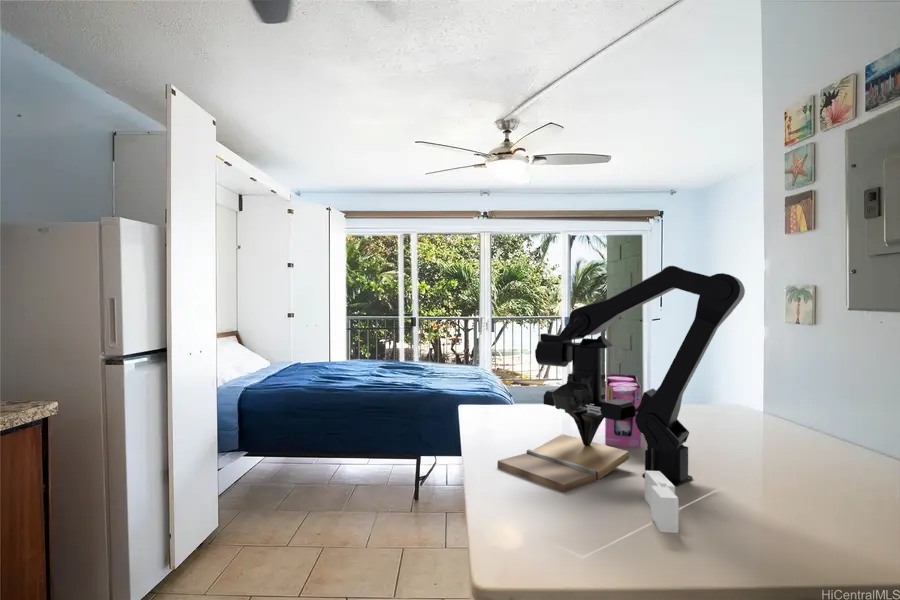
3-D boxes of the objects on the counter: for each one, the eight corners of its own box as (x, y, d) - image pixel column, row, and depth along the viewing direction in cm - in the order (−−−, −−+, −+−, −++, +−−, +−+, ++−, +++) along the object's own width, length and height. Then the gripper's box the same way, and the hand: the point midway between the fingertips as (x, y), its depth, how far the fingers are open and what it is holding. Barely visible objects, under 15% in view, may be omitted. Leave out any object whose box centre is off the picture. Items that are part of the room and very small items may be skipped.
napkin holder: (640, 495, 84) (640, 461, 84) (713, 515, 76) (713, 478, 76) (598, 523, 73) (599, 484, 73) (679, 550, 65) (679, 506, 65)
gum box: (642, 450, 108) (642, 389, 108) (604, 447, 111) (604, 386, 111) (636, 425, 131) (636, 374, 131) (605, 423, 133) (605, 373, 134)
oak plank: (629, 458, 95) (628, 451, 95) (599, 479, 89) (598, 471, 89) (562, 440, 108) (562, 433, 107) (532, 457, 101) (531, 450, 101)
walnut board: (595, 481, 88) (595, 470, 88) (563, 493, 83) (563, 480, 83) (529, 459, 101) (529, 449, 101) (497, 468, 95) (497, 457, 95)
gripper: (525, 367, 102) (525, 442, 102) (602, 379, 88) (602, 466, 88) (560, 362, 109) (560, 432, 109) (637, 373, 94) (637, 453, 95)
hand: (586, 445), depth 100 cm, fingers closed, pressing on oak plank
